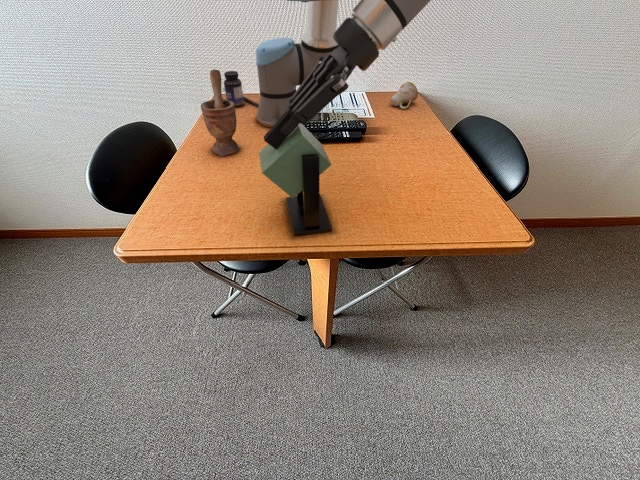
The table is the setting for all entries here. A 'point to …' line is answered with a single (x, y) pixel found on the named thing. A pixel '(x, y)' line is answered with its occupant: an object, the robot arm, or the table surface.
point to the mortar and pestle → (220, 118)
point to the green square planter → (292, 160)
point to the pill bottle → (233, 88)
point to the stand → (308, 202)
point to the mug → (405, 95)
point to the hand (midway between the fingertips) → (269, 143)
